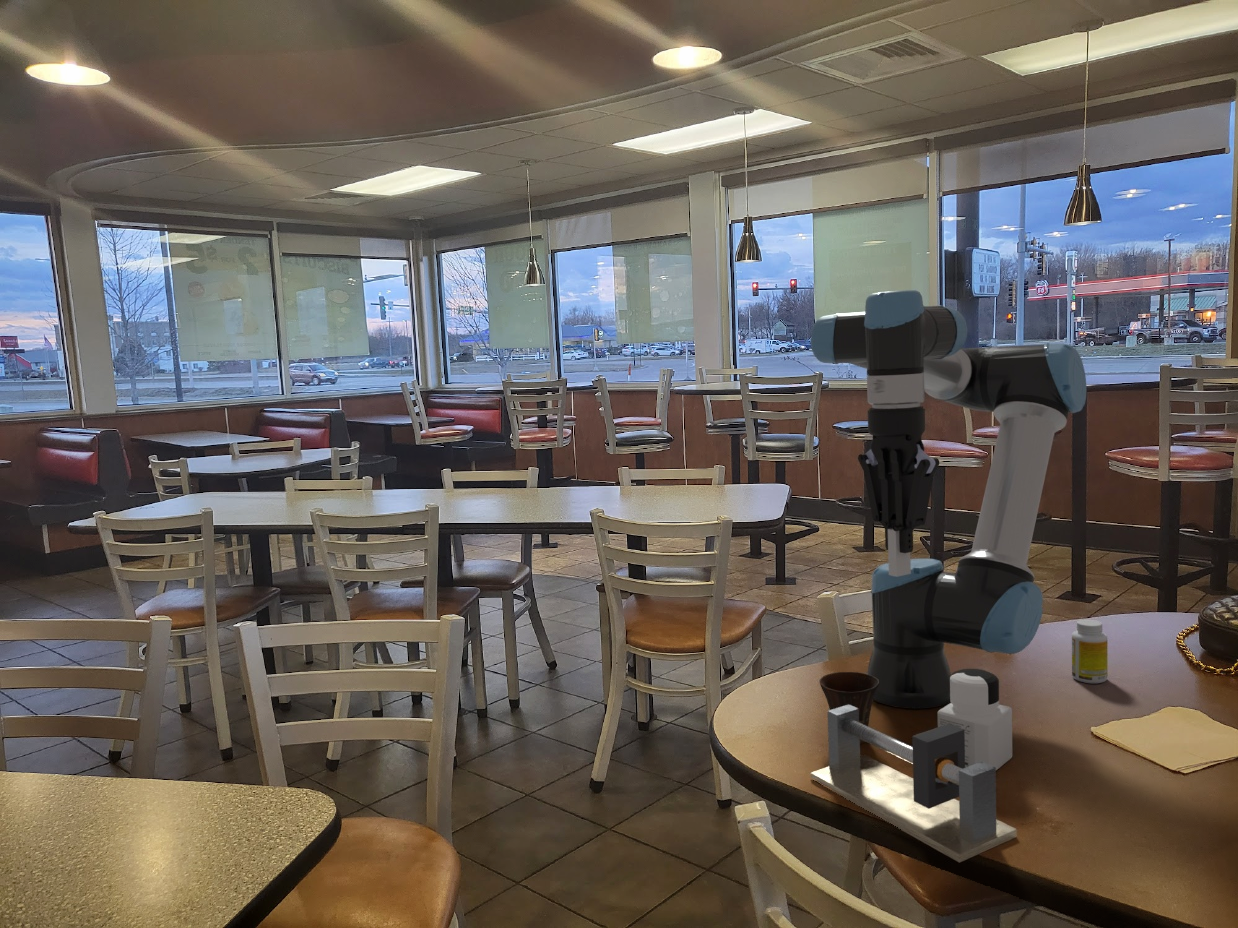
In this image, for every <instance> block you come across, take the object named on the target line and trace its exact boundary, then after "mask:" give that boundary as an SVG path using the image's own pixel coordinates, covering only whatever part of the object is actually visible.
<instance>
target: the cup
mask: <svg viewBox="0 0 1238 928" xmlns="http://www.w3.org/2000/svg"><path fill="white" fill-rule="evenodd" d="M819 684H820V687H821V691H822V692H823V694H824V697H825V699H826V701H827V705H828V709H829V710H832V709H835V708H839V707H842V706H845V705H848V704H849V705H851V706H854V707H856V708H858V709H859V723H861V724H863V725H866V726H868V727H869V723H870V722H869V721H870V716H871V710H872V706H873V701H874V700H873V699H874V696H875V693H876V691H877V688H878V685H879V681H878V679H877V678H875V677H873V676H871V675H868V674H866V673H863V672H858V671H837V672H832V673H828V674H826V675H823V676H822V677H821V678H819ZM860 743H861V744H865V743H866V742H865V741H863V740H861V739H860Z"/></svg>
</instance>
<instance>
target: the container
mask: <svg viewBox="0 0 1238 928" xmlns="http://www.w3.org/2000/svg"><path fill="white" fill-rule="evenodd" d="M999 680H1000V679H999V678H998V677H997V676H996V675H995V674H994V673H993V672H992V673H991V672H990V671H987V670H984V669H979V668H962V669H959V670H956V671H954V672H951V676H950V701H951V702H950V703H947V704H946V705H944V707H942V708H940V709H939V710H938V711H937V727H940V726H943V725H946V724H952V725H954V726H957V727H959V728H962V729H964V733H965V768H966V767H969V766H971V765H974V764H977V763H979V762H984V763H986V764H989V765H991V766H993V767H996V771H997V770H998V769H1000V768H1001V767H1003V765H1004V764H1006V763H1007V762H1008V761H1010V760H1011V759H1012V758H1013V709H1012V707H1011V706H1008V705H1003V704H1000V685H999V684H1000V681H999Z"/></svg>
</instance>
